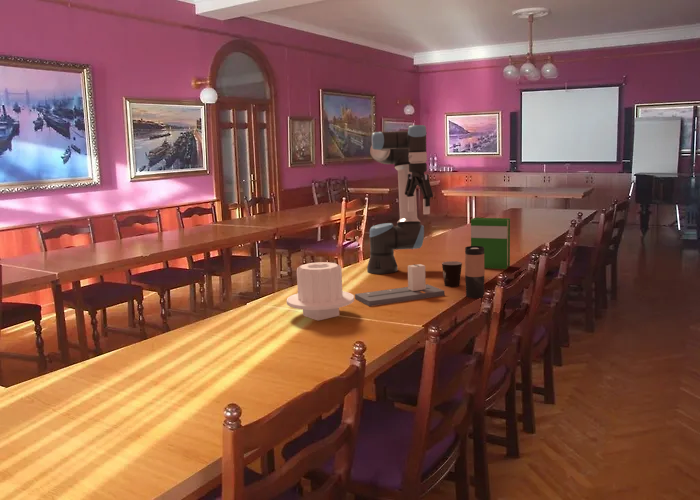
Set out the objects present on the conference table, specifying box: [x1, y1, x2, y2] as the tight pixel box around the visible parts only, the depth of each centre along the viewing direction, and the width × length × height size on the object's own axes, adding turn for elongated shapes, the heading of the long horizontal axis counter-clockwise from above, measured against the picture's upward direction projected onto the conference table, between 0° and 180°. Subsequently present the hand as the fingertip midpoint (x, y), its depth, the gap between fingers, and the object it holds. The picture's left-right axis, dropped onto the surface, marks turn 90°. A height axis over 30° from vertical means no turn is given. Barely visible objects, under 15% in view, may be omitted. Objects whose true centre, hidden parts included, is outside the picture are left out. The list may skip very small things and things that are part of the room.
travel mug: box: [464, 245, 485, 299], centre depth 250 cm, size 8×8×20 cm
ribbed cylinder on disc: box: [286, 261, 355, 321], centre depth 230 cm, size 25×25×19 cm
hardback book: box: [470, 217, 511, 270], centre depth 307 cm, size 18×7×24 cm, turn 65°
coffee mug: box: [441, 260, 463, 288], centre depth 272 cm, size 12×9×10 cm
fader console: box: [354, 283, 445, 307], centre depth 254 cm, size 14×34×2 cm, turn 113°
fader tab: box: [407, 263, 426, 291], centre depth 256 cm, size 4×6×10 cm
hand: (418, 213), depth 264 cm, fingers open, 13 cm apart
